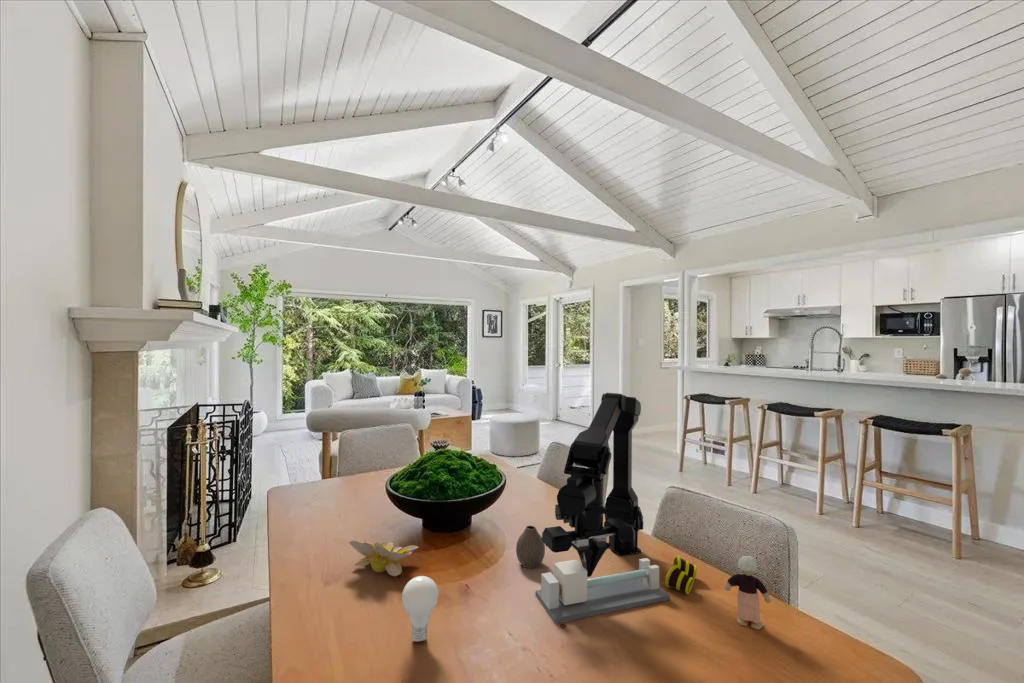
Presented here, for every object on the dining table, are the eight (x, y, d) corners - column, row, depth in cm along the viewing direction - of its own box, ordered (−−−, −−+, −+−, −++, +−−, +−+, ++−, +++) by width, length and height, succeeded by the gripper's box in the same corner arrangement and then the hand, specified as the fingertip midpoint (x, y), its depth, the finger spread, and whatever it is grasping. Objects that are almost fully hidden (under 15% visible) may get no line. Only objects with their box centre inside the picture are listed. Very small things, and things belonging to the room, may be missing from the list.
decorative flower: (431, 555, 108) (424, 517, 107) (403, 588, 98) (394, 548, 97) (382, 547, 115) (374, 511, 113) (350, 578, 105) (341, 539, 103)
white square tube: (575, 588, 95) (575, 559, 95) (586, 601, 91) (587, 570, 91) (553, 592, 94) (554, 563, 94) (564, 605, 89) (564, 574, 89)
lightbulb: (403, 629, 83) (404, 569, 83) (439, 628, 84) (439, 568, 84) (398, 653, 77) (399, 588, 77) (436, 651, 77) (437, 587, 77)
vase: (542, 572, 104) (543, 534, 105) (513, 569, 106) (513, 531, 106) (546, 559, 111) (546, 523, 111) (518, 555, 113) (519, 520, 113)
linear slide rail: (640, 576, 104) (641, 549, 104) (669, 599, 94) (670, 570, 94) (535, 595, 95) (535, 566, 95) (555, 623, 86) (556, 591, 86)
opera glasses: (688, 601, 95) (693, 579, 95) (662, 589, 98) (667, 568, 98) (695, 581, 104) (700, 560, 103) (671, 570, 106) (676, 550, 106)
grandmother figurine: (767, 621, 87) (768, 555, 87) (771, 633, 84) (772, 564, 84) (723, 612, 90) (724, 548, 90) (725, 624, 86) (726, 557, 86)
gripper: (607, 484, 104) (606, 552, 104) (532, 492, 98) (531, 564, 98) (636, 500, 94) (635, 576, 94) (554, 510, 87) (552, 591, 87)
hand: (588, 575), depth 93 cm, fingers closed
